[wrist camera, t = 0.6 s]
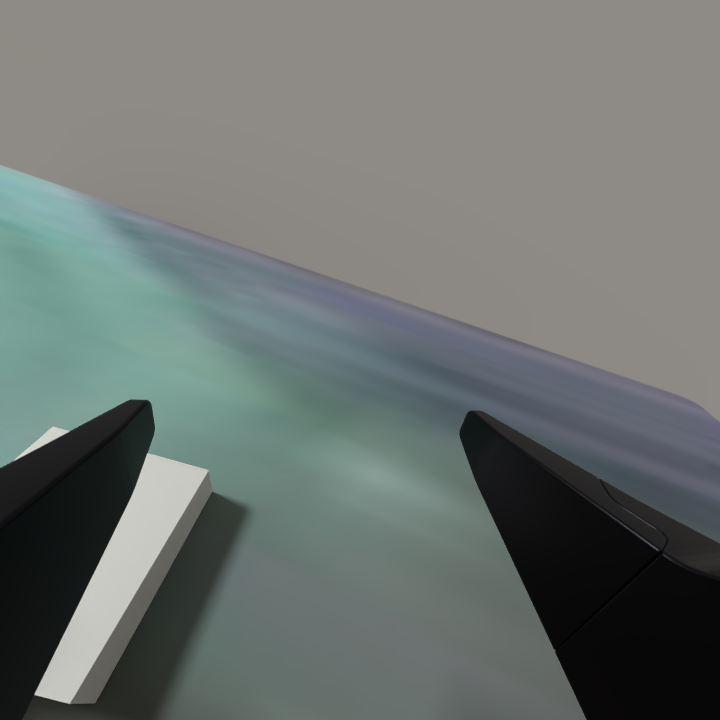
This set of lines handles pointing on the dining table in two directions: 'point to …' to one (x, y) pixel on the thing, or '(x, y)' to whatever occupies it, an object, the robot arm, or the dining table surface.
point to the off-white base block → (124, 575)
